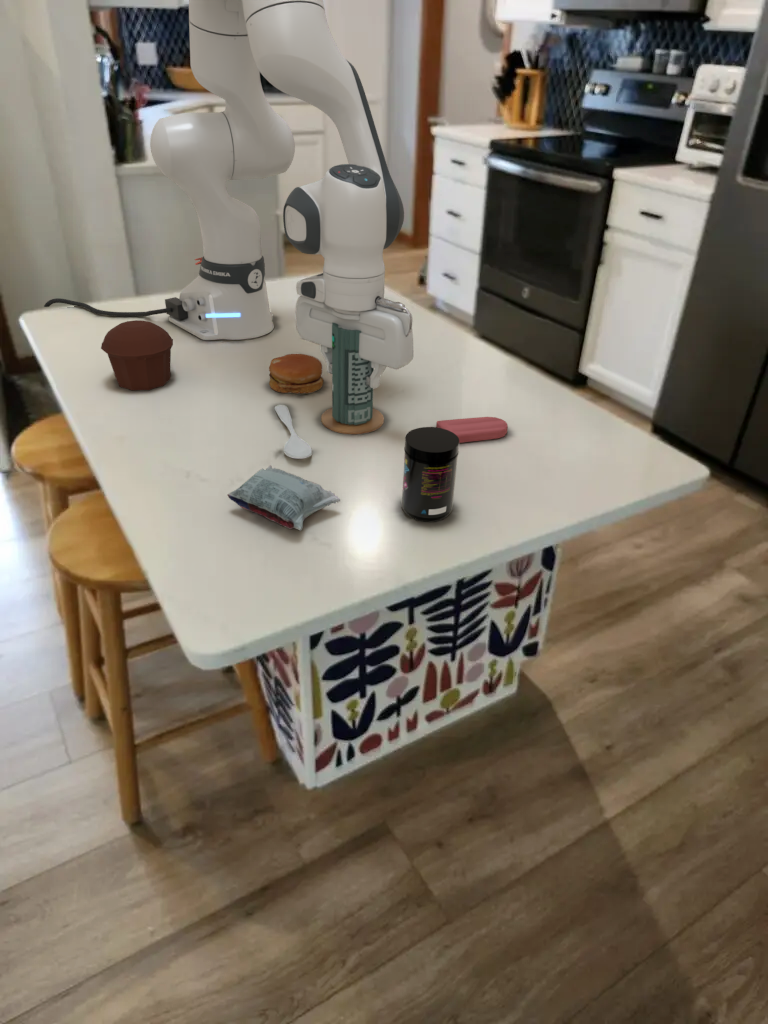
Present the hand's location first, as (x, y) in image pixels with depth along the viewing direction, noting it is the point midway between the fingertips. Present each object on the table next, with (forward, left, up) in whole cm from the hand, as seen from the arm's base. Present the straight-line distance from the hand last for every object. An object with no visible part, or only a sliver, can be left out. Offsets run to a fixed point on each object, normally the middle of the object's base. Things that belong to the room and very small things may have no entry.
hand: (352, 379), depth 115 cm
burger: (-16, +4, -7) cm, 18 cm away
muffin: (-37, -12, -7) cm, 40 cm away
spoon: (-4, -10, -7) cm, 13 cm away
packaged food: (+10, -26, -7) cm, 29 cm away
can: (0, 0, -6) cm, 6 cm away
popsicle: (+16, +7, -7) cm, 19 cm away
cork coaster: (0, 0, -7) cm, 7 cm away
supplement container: (+24, -14, -7) cm, 29 cm away
